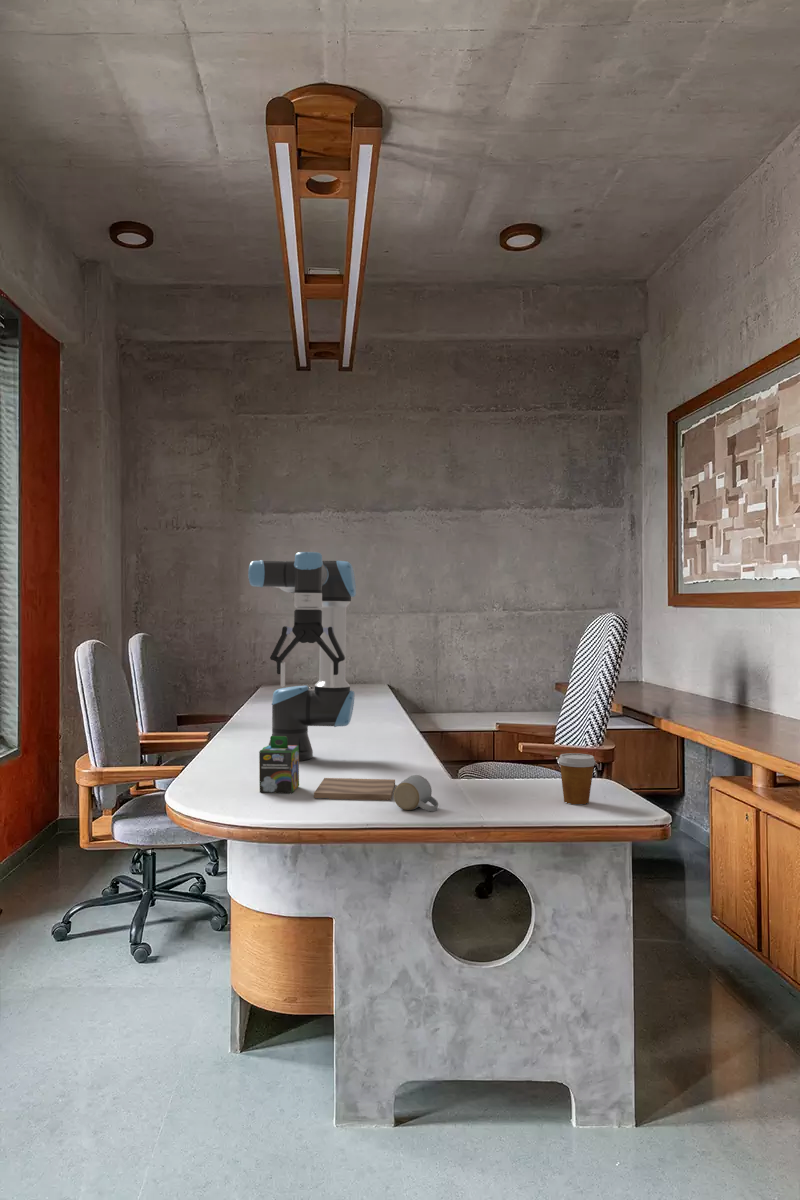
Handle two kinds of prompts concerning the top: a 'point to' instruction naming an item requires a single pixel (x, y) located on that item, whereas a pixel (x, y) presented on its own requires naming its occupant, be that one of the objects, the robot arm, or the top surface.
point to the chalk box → (279, 766)
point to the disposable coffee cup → (576, 777)
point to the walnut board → (355, 789)
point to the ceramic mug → (415, 794)
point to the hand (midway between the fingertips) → (307, 686)
